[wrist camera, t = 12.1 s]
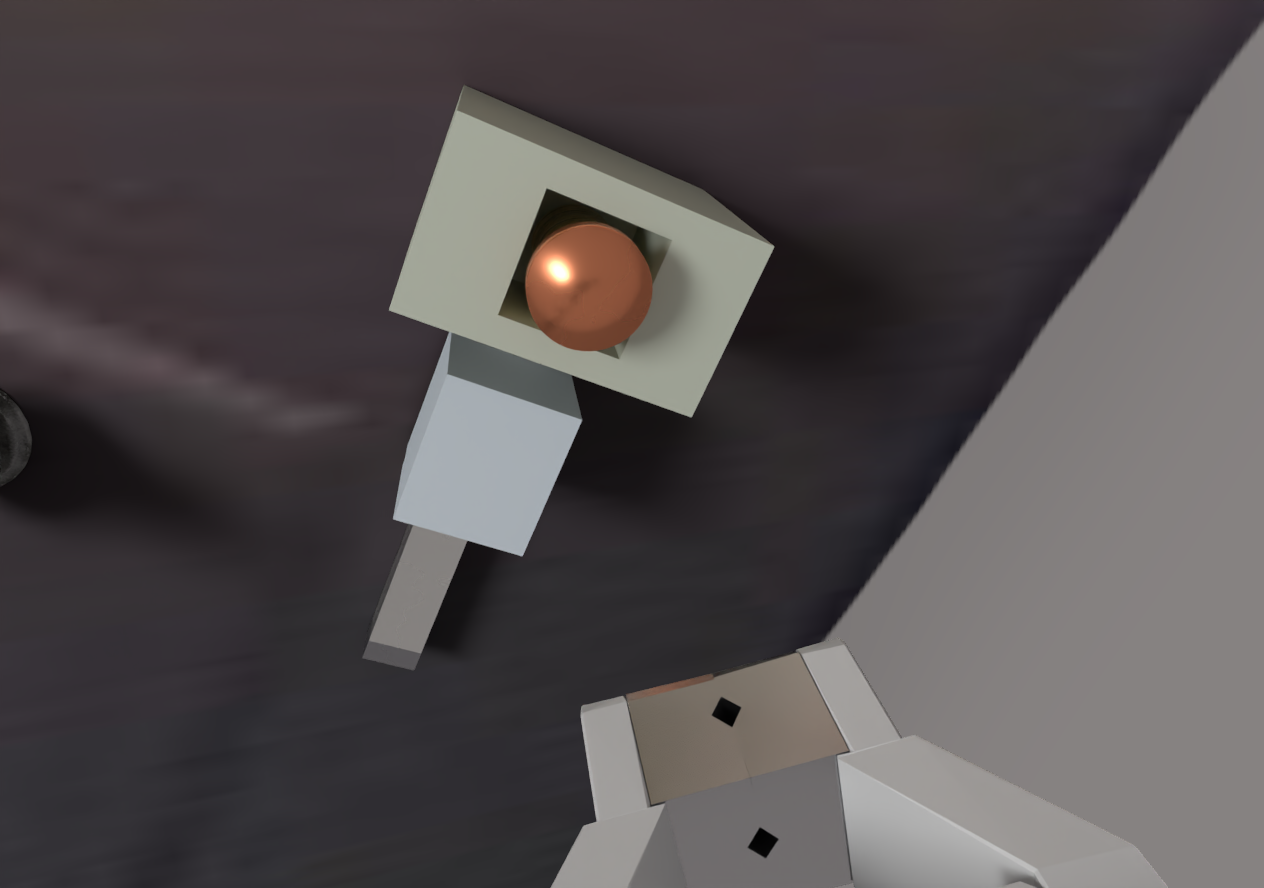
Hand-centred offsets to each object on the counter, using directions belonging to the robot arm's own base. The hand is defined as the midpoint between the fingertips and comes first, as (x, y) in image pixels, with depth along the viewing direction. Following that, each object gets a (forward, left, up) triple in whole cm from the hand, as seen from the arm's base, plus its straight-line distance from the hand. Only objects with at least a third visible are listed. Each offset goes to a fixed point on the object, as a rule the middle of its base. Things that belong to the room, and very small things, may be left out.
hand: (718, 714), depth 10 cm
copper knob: (0, 0, -23) cm, 23 cm away
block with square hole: (0, 0, -29) cm, 29 cm away
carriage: (-8, 0, -29) cm, 30 cm away
